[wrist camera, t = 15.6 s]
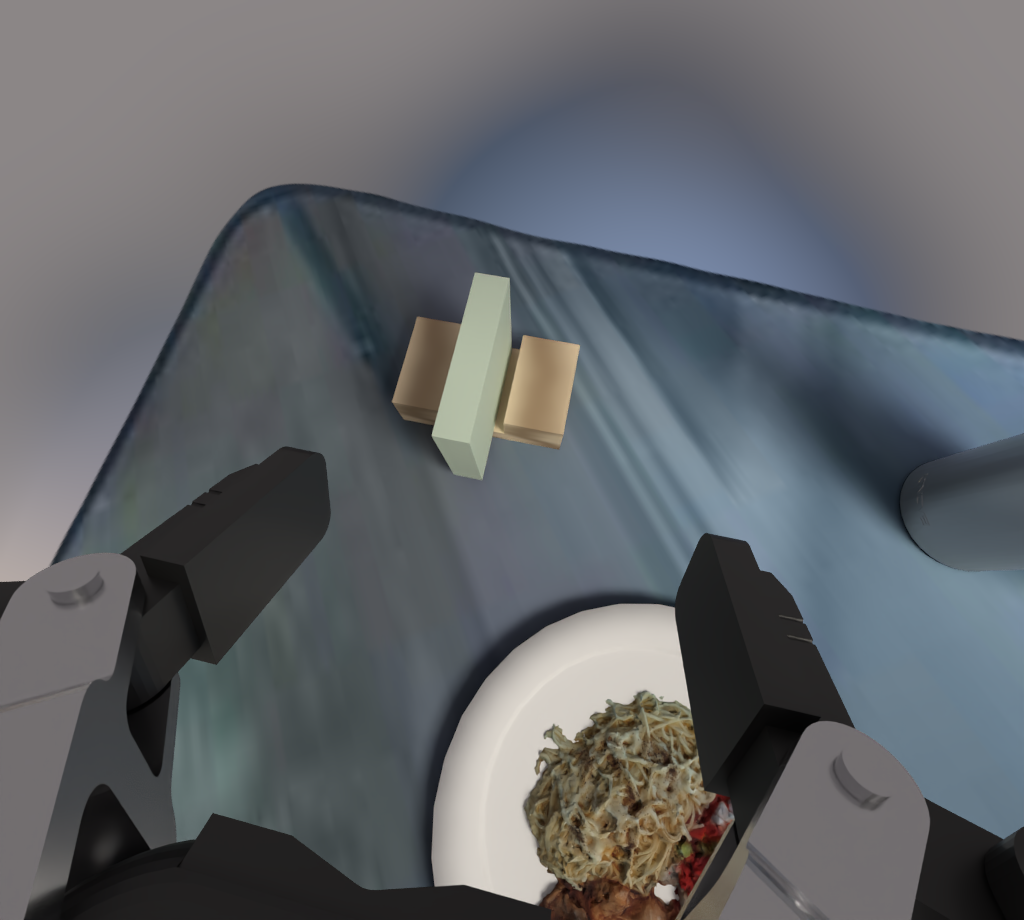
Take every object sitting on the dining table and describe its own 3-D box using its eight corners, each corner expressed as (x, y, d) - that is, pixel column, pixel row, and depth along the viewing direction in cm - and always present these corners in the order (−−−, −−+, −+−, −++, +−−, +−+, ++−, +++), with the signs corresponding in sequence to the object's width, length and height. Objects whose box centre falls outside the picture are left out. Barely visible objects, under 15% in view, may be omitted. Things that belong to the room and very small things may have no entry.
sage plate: (511, 351, 41) (509, 278, 31) (482, 480, 38) (469, 443, 28) (485, 346, 41) (475, 272, 31) (453, 474, 38) (431, 435, 28)
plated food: (427, 620, 37) (418, 623, 33) (800, 585, 37) (828, 585, 34) (447, 1129, 28) (437, 1198, 25) (924, 1079, 29) (975, 1142, 25)
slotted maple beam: (574, 367, 42) (580, 345, 38) (559, 449, 40) (563, 434, 36) (426, 340, 43) (417, 316, 39) (403, 419, 41) (391, 402, 37)
